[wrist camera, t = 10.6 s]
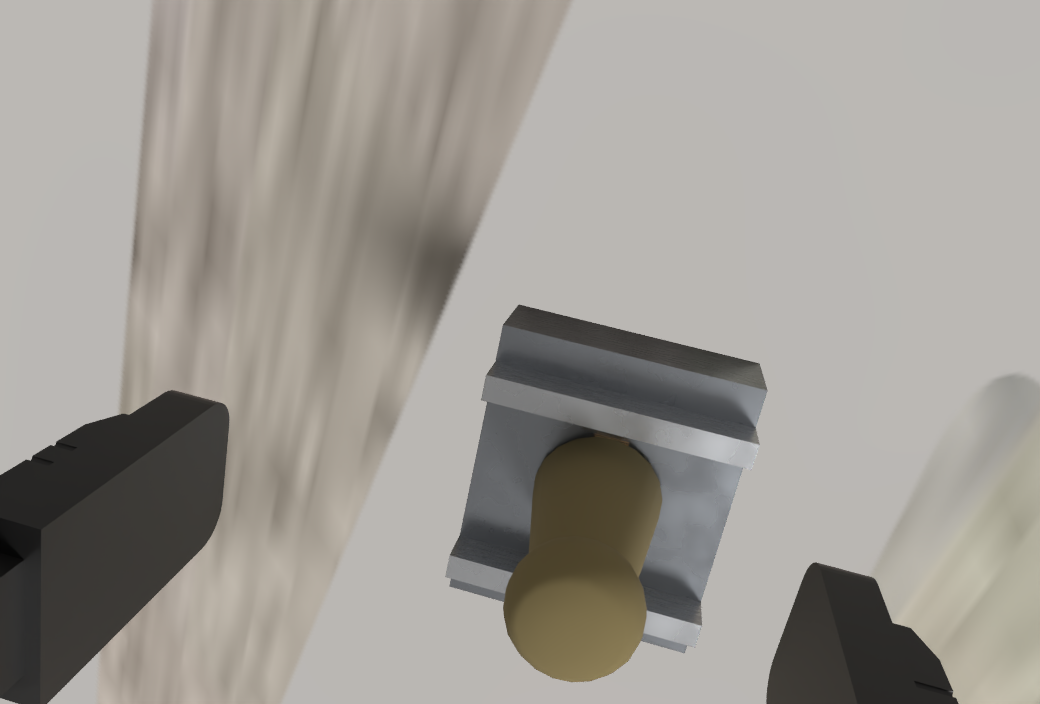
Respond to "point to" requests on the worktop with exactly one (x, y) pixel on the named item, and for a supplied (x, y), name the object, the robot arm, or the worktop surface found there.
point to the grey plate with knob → (618, 416)
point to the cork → (584, 561)
